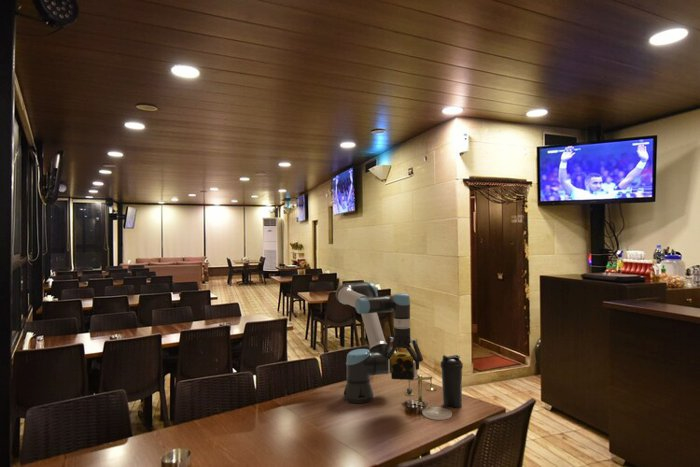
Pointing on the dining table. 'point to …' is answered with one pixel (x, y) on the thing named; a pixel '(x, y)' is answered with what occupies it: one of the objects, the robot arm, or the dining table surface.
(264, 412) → the dining table surface
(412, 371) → the candle
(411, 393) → the balance
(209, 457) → the dining table surface
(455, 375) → the water bottle
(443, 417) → the dish
